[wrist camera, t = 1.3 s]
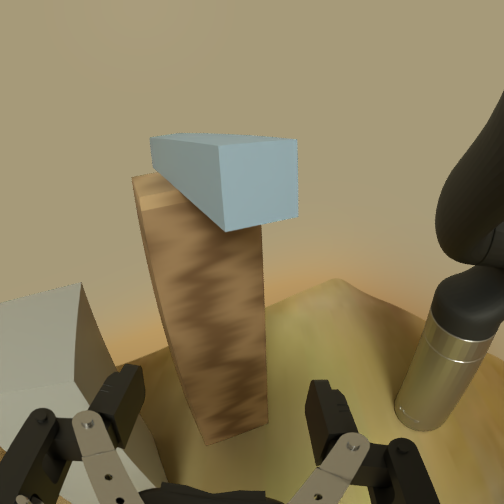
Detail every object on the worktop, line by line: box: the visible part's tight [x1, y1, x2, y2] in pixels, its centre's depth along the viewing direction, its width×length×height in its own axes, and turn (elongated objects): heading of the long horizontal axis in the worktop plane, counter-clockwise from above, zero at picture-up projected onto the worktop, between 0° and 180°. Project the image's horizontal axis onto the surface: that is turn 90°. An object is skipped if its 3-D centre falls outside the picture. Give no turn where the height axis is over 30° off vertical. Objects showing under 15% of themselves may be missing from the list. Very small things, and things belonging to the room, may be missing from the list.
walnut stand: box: [132, 172, 268, 446], centre depth 32 cm, size 9×10×32 cm
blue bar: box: [150, 133, 298, 232], centre depth 22 cm, size 4×24×4 cm, turn 25°
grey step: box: [0, 282, 168, 504], centre depth 22 cm, size 10×12×25 cm
